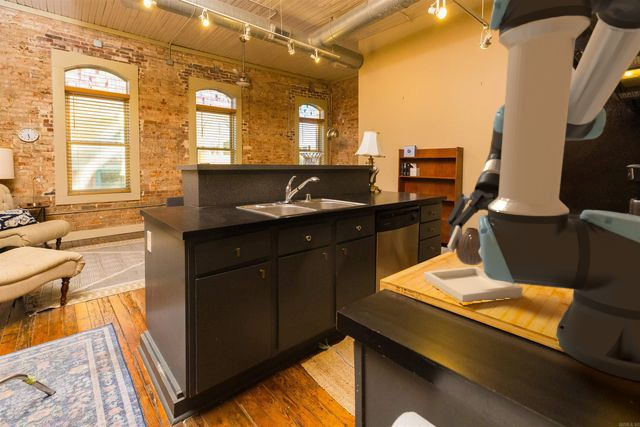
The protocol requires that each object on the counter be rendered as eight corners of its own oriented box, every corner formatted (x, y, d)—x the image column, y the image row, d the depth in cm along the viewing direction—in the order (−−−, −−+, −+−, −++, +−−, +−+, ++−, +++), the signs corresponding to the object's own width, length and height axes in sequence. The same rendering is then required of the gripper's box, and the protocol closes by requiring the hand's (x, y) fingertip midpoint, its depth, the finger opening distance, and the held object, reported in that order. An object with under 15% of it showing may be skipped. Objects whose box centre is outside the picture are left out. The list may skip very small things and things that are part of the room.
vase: (450, 263, 81) (452, 229, 79) (461, 256, 86) (463, 224, 84) (480, 269, 76) (482, 233, 74) (489, 262, 81) (491, 227, 79)
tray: (521, 297, 75) (522, 287, 75) (462, 305, 72) (462, 295, 72) (474, 274, 91) (475, 266, 90) (423, 280, 87) (424, 271, 87)
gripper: (538, 191, 81) (513, 269, 73) (461, 188, 95) (432, 252, 87) (534, 171, 77) (507, 251, 69) (453, 171, 91) (422, 237, 83)
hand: (465, 252), depth 78 cm, fingers closed on vase, 7 cm apart
